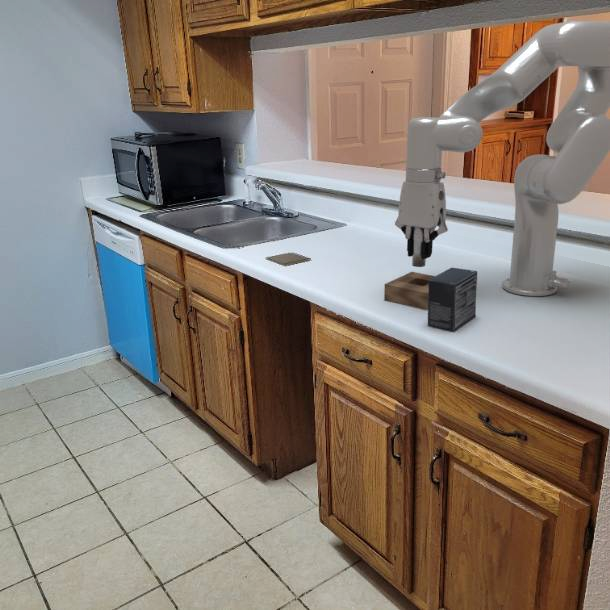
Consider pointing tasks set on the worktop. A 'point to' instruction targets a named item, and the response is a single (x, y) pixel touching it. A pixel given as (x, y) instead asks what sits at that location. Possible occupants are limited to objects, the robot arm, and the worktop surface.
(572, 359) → the worktop surface
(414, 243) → the pin
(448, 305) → the small box
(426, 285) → the socket block
